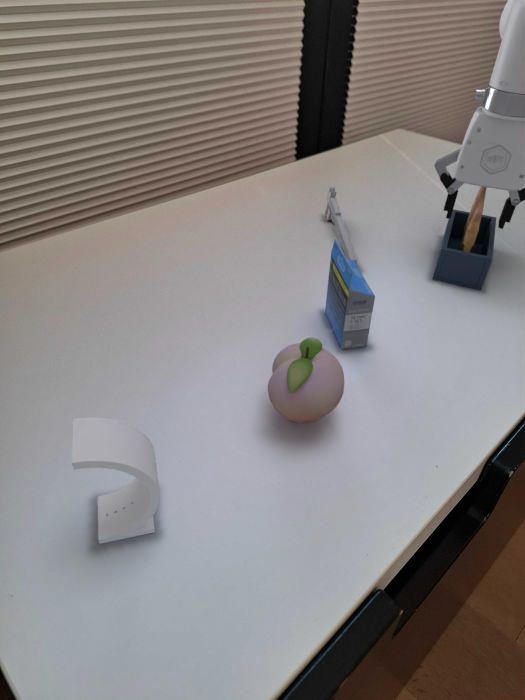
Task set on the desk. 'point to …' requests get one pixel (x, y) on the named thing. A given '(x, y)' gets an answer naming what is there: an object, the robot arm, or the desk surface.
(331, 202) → the caliper
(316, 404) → the decorative fruit
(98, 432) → the headphone stand
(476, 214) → the ammunition clip
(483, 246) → the desk tidy
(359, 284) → the label tape box
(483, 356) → the desk surface
